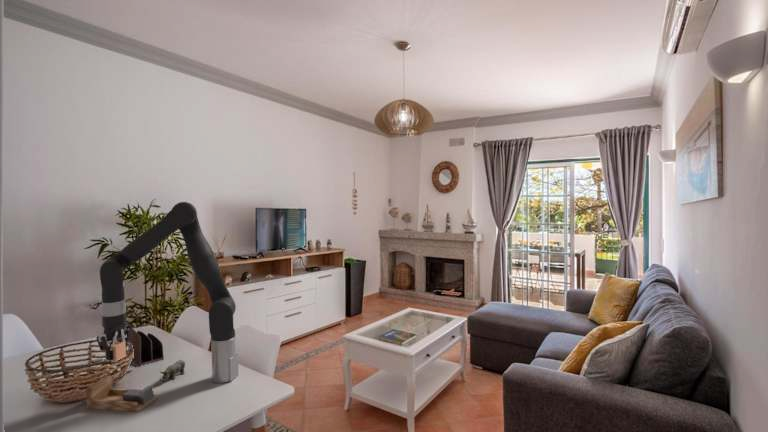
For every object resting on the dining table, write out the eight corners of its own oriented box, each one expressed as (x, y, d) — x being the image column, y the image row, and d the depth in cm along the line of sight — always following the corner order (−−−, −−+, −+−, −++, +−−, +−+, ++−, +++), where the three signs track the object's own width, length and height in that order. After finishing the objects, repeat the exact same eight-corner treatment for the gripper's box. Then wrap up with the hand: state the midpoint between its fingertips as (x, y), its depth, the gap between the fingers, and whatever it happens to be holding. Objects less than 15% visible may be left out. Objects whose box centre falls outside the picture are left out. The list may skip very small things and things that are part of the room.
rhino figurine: (155, 386, 159) (154, 371, 158) (180, 370, 172) (179, 357, 172) (164, 387, 158) (163, 372, 157) (188, 371, 171) (187, 358, 171)
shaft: (152, 397, 146) (152, 386, 146) (144, 404, 142) (143, 392, 142) (131, 396, 147) (131, 384, 147) (122, 402, 143) (122, 390, 143)
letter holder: (139, 366, 176) (138, 335, 175) (126, 354, 189) (125, 325, 189) (164, 359, 183) (162, 329, 182) (149, 348, 197) (148, 320, 196)
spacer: (125, 356, 151) (125, 342, 151) (116, 361, 147) (115, 346, 146) (115, 355, 152) (114, 341, 152) (105, 360, 148) (104, 346, 147)
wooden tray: (156, 398, 149) (155, 378, 148) (138, 411, 140) (137, 390, 139) (107, 395, 151) (106, 375, 151) (87, 408, 142) (86, 387, 142)
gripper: (106, 319, 141) (108, 366, 142) (137, 307, 155) (139, 350, 156) (88, 318, 142) (90, 364, 143) (120, 306, 156) (122, 349, 157)
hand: (115, 356), depth 149 cm, fingers closed on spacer, 4 cm apart
